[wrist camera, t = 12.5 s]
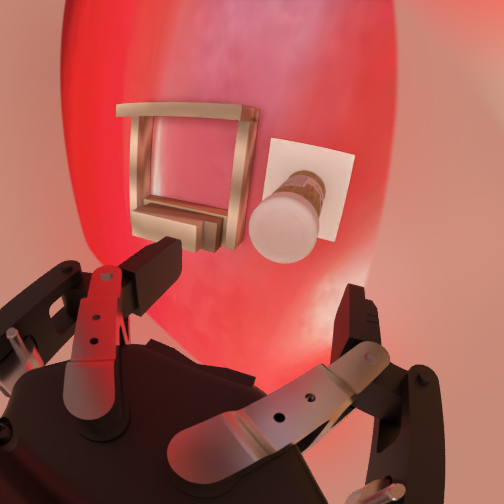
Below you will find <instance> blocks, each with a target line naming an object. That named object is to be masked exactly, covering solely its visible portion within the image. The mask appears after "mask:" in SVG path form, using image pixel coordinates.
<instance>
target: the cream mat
mask: <svg viewBox="0 0 504 504" xmlns="http://www.w3.org/2000/svg"><path fill="white" fill-rule="evenodd" d="M354 159H355V155H354V154H350V153H346V152H342V151H337V150H333V149H329V148H324V147H320V146H315V145H310V144H305V143H300V142H295V141H289V140H284V139H278V138H271V143H270V150H269V157H268V163H267V170H266V177H265V184H264V191H263V198H262V201H263V200H264V199H265V198H266V197H268V196H270V195H271V194H273V192H274V191H275V190H276V189H278V188H279V187H280V186H281V185H282V184H283V183H284V182H285V181H286V180H287V179H288V178H289V176H290V175H292V174H293V173H295V172H297V171H302V170H306V171H311V172H313V173H315V174H317V175H318V176H319V177H320V178H321V179H322V181H323V183H324V185H325V190H326V193H325V198H324V201H323V205H322V209H321V214H320V217H319V233H318V238H321V239H325V240H329V241H333V242H335V239H336V235H337V232H338V228H339V224H340V220H341V216H342V212H343V208H344V204H345V200H346V195H347V191H348V187H349V182H350V178H351V173H352V168H353V164H354Z"/></svg>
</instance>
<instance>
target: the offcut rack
mask: <svg viewBox="0 0 504 504" xmlns="http://www.w3.org/2000/svg"><path fill="white" fill-rule="evenodd" d="M259 111H260V109H256V108H252V107H248V106H244V105H236V104H223V103H203V102H147V103H129V104H117V107H116V117H122V116H132V124H131V142H130V216H131V224H132V234H133V235H134V236H137V237H141V238H144V239H148V240H151V241H155V242H158V241H160V240H161V239H162V238H164V237H165V236H169V237H172V238H176V239H180V240H181V242H182V249H184V250H187V251H191V252H197V251H198V250H199V249H203V250H207V251H210V252H214V253H215V252H216V251H217V250H218V249H219V248H220V247H225V248H228V249H231V250H235V249H236V248H237V246H238V245H239V244H240V243H241V242H242V240H243V232H244V224H245V216H246V209H247V201H248V193H249V185H250V178H251V170H252V162H253V155H254V148H255V140H256V133H257V125H258V118H259ZM154 116H183V117H203V118H217V119H228V120H238V129H237V137H236V145H235V153H234V162H233V171H232V180H231V189H230V198H229V208H228V210H225V209H220V208H215V207H210V206H205V205H201V204H196V203H191V202H186V201H181V200H175V199H170V198H165V197H160V196H154V195H151V196H150V168H151V145H152V129H153V117H154Z"/></svg>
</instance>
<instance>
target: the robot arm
mask: <svg viewBox="0 0 504 504" xmlns="http://www.w3.org/2000/svg"><path fill="white" fill-rule="evenodd" d="M181 271H182V242H181V240H180V239H176V238H172V237H169V236H165V237H164V238H162V239H161V240H160V241H158V242H157V243H153V244H151V245H148V246H145V247H144V248H143V249H141V250H140V251H139V252H137V253H136V254H134V256H131V257H130V258H129V259H127V260H126V261H124V262H123V263H122V264H120V265H119V266H118V267H117V266H113V265H107V266H102V267H99V268H97V269H96V270H95V271H94V272H93V273H86V272H82V271H81V266H80V263H79V262H77V261H73V260H69V261H64V262H62V263H60V264H58V265H57V266H55V267H54V268H52V269H51V270H50V271H48V272H47V273H46V274H44V275H43V276H42V277H40V278H39V279H37V281H35V282H34V283H32V284H31V285H30V286H29V287H27V288H26V289H24V290H23V291H22V292H21V293H19V294H18V295H17V296H16V297H14V298H13V299H12V300H11V301H9V302H8V303H7V304H6V305H5V306H4V307H2V308H1V309H0V390H1V391H2V393H3V394H4V395H5V396H7V397H10V399H9V402H8V405H7V407H6V409H5V411H4V413H3V415H2V417H1V418H0V504H328V502H327V500H326V498H325V497H324V495H323V493H322V491H321V489H320V487H319V486H318V484H317V482H316V480H315V479H314V476H313V475H312V473H311V471H310V469H309V467H308V465H307V463H306V461H305V460H304V458H303V456H302V454H304V453H305V452H306V451H308V450H309V449H310V448H312V447H313V446H314V445H315V444H317V443H318V442H319V441H320V440H321V439H322V438H323V437H324V436H325V435H326V434H328V433H329V432H330V431H331V430H332V429H334V428H335V427H336V426H337V425H338V424H340V423H341V422H342V421H343V420H344V419H345V418H346V417H348V416H349V415H350V414H351V413H352V412H353V411H354V410H355V409H359V410H362V411H363V412H365V413H368V414H370V415H372V416H374V417H375V418H374V428H373V437H372V445H371V453H370V459H369V465H368V471H367V477H366V483H365V486H363V487H362V488H360V489H358V490H356V491H354V492H353V493H352V494H350V496H349V497H348V498H347V500H346V502H345V504H443V503H444V490H445V489H444V488H445V436H444V422H443V411H442V402H441V393H440V386H439V380H438V377H437V375H436V374H435V372H434V371H433V370H432V369H430V368H429V367H427V366H424V365H414V366H412V367H411V368H410V369H409V371H407V370H405V369H402V368H400V367H398V366H396V365H394V364H392V363H391V362H390V356H389V353H388V352H387V350H386V349H385V348H384V347H383V346H382V345H381V336H380V327H379V319H378V311H377V308H376V306H375V305H374V303H373V301H371V300H368V299H365V291H364V287H361V286H357V285H353V284H349V283H348V284H347V286H346V289H345V292H344V294H343V297H342V300H341V303H340V305H339V308H338V311H337V314H336V317H335V322H334V331H333V342H332V351H331V360H330V365H329V366H328V367H326V366H325V365H324V364H319V365H317V366H316V367H314V368H313V369H311V370H309V371H308V372H306V373H305V374H303V375H301V376H300V377H298V378H296V379H295V380H293V381H291V382H290V383H288V384H286V385H285V386H283V387H281V388H280V389H278V390H276V391H274V392H273V393H271V394H269V395H267V394H266V393H265V392H263V391H262V390H261V389H259V388H258V387H256V386H254V382H255V378H256V377H254V376H250V375H247V374H244V373H241V372H238V371H235V370H231V369H228V368H222V367H214V366H207V365H201V364H197V363H195V362H193V361H192V360H190V359H189V358H187V357H186V356H184V355H183V354H181V353H180V352H179V351H177V350H175V349H174V348H172V347H169V346H167V345H165V344H162V343H160V342H157V341H155V340H153V339H150V341H149V342H148V343H147V344H146V345H139V344H131V342H130V341H131V340H130V319H129V315H130V314H131V313H134V314H136V315H138V316H140V317H141V316H142V315H143V314H144V313H145V312H146V311H147V310H148V309H149V308H150V307H151V306H152V305H153V304H154V303H155V302H156V301H157V300H158V299H159V298H160V297H161V296H162V295H163V294H164V293H165V292H166V291H167V290H168V289H169V288H170V286H171V285H172V284H173V283H174V282H175V281H176V280H177V279H178V278H179V276H180V274H181ZM60 297H62V300H63V303H64V307H63V308H61V309H60V310H59V311H58V312H57V313H56V314H55V315H54V316H53V317H52V318H50V315H49V309H50V306H51V305H52V304H53V303H54V302H55V301H56V300H57V299H58V298H60ZM73 335H74V340H73V347H72V354H71V359H70V360H67V361H63V362H59V363H55V364H51V365H48V366H45V365H46V363H47V362H48V361H49V360H50V359H51V358H52V357H53V356H54V355H55V354H56V353H57V352H58V351H59V349H60V348H61V347H62V346H63V345H64V344H65V343H66V342H67V341H68V340H69V339H70V338H71V337H72V336H73Z"/></svg>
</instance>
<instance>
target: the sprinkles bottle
mask: <svg viewBox="0 0 504 504" xmlns="http://www.w3.org/2000/svg"><path fill="white" fill-rule="evenodd" d="M325 193H326V190H325V185H324V183H323V181H322V179H321V178H320V177H319V176H318V175H317V174H315V173H313V172H311V171H306V170H302V171H297V172H295V173H293V174H292V175H290V176H289V178H288V179H287V180H286V181H285V182H284V183H283V184H282V185H281V186H280V187H279V188H278V189H276V190H275V191H274V192H273V194H271V195H270V196H268V197H266V198H265V199H264V200H263V201H262V202H261V203H260V204H259V205H258V206H257V207H256V208H255V210H254V211H253V213H252V215H251V217H250V220H249V236H250V239H251V242H252V244H253V245H254V247H255V248H256V250H257V251H258V252H259V253H260V254H261V255H263V256H264V257H265V258H267V259H269V260H271V261H274V262H277V263H293V262H297V261H299V260H301V259H303V258H305V257H306V256H307V255H308V254H309V253H310V252H311V251H312V249H313V248H314V246H315V244H316V241H317V238H318V233H319V217H320V214H321V209H322V205H323V201H324V198H325Z"/></svg>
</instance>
